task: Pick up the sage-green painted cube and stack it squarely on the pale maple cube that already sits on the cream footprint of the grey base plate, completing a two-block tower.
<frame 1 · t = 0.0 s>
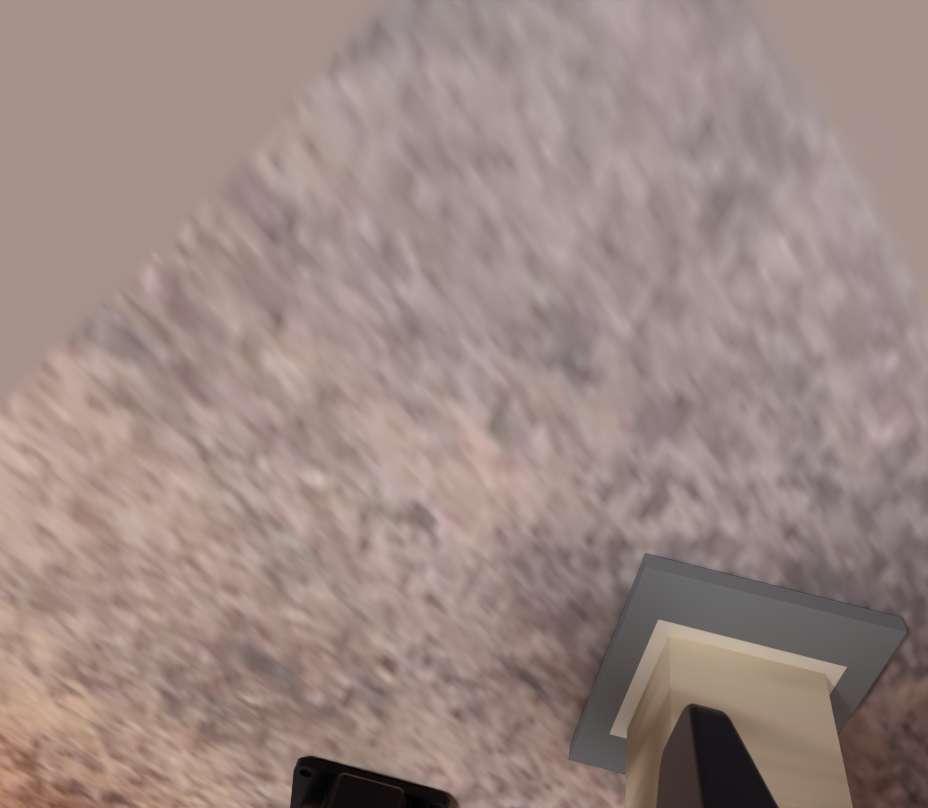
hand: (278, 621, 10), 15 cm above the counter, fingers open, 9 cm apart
grey base plate: (719, 688, 30), on the counter
maple block: (720, 702, 29), point 1 cm above the counter, touching grey base plate
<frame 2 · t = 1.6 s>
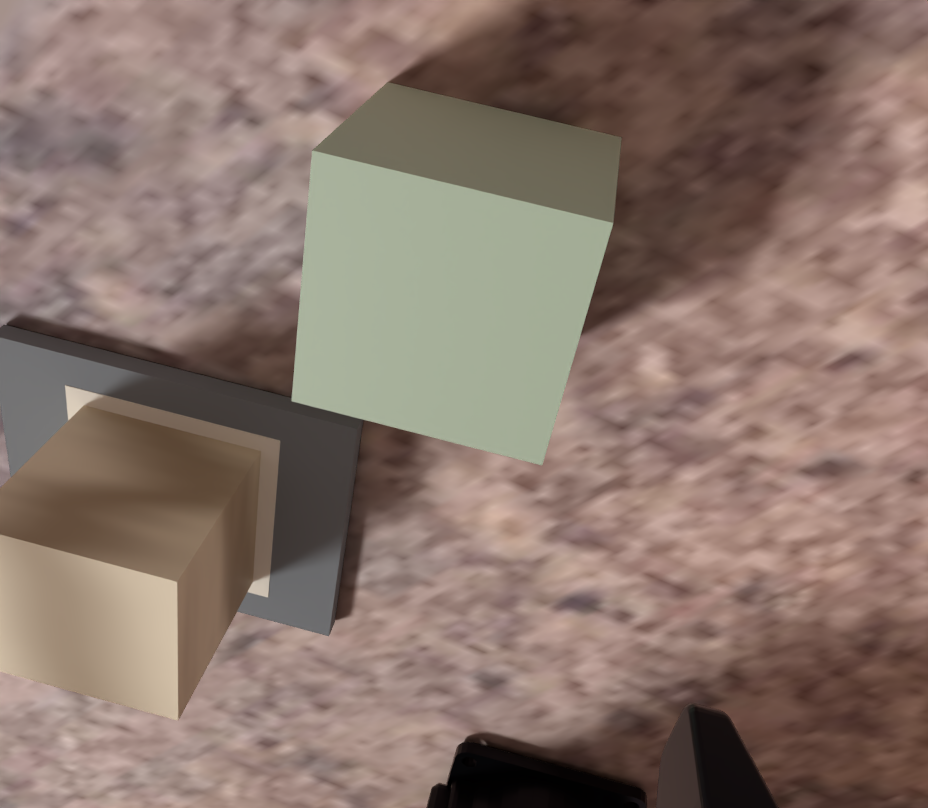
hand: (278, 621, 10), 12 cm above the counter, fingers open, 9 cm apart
green block: (481, 220, 20), on the counter
grey base plate: (182, 484, 25), on the counter
maple block: (172, 498, 25), point 1 cm above the counter, touching grey base plate
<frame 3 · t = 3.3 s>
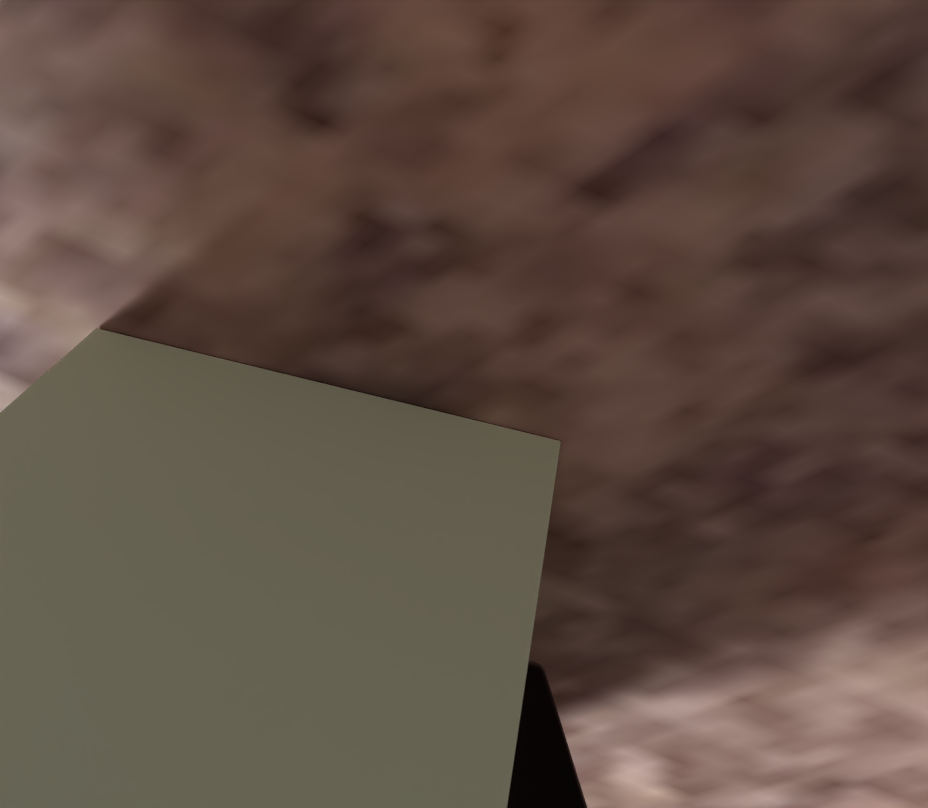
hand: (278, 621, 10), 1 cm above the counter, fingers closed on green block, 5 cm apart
green block: (309, 556, 10), on the counter, touching gripper
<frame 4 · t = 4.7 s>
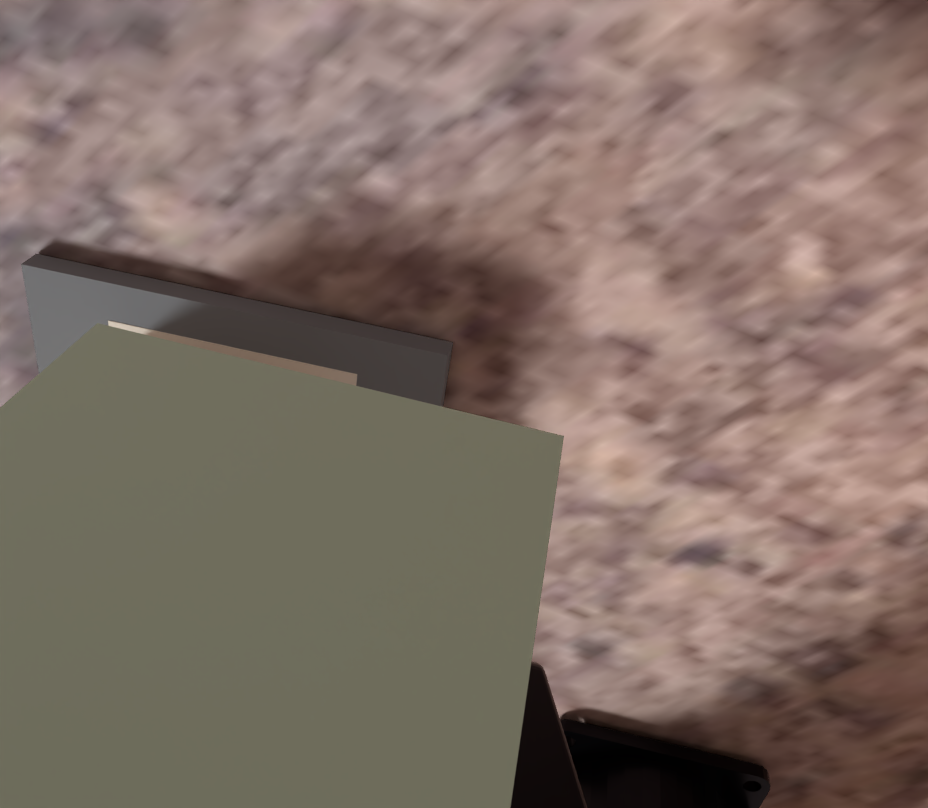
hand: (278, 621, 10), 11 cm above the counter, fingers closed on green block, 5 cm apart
green block: (310, 552, 10), point 10 cm above the counter, touching gripper
grey base plate: (242, 435, 22), on the counter
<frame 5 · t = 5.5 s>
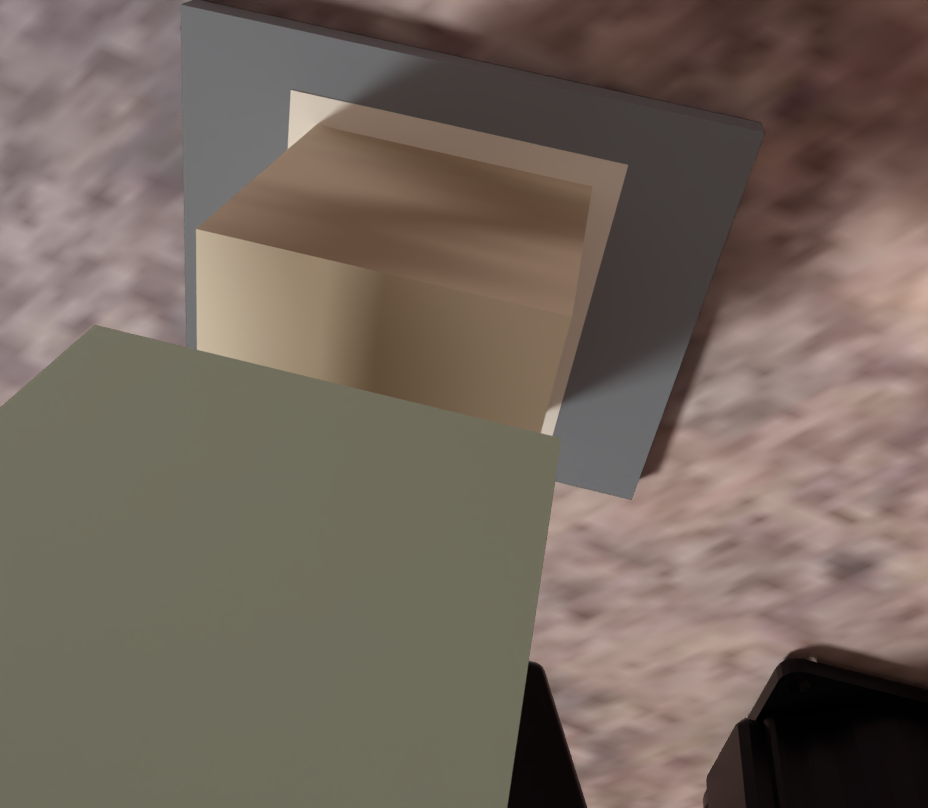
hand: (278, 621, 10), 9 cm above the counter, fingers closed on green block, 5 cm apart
green block: (308, 554, 10), point 8 cm above the counter, touching gripper
grey base plate: (438, 268, 17), on the counter
maple block: (432, 281, 17), point 1 cm above the counter, touching grey base plate
when the fingers open (8 cm above the counter, at t = 6.1 s): green block drops 1 cm, resting on maple block.
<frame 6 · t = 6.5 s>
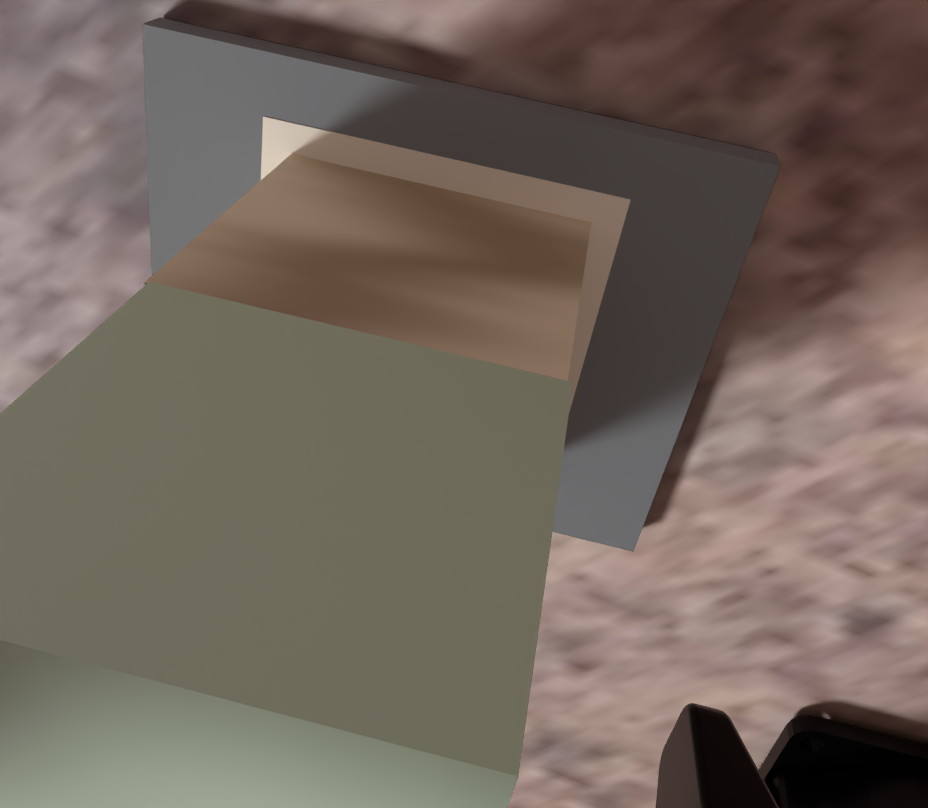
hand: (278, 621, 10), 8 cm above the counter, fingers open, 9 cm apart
green block: (340, 496, 11), point 6 cm above the counter, touching maple block
grey base plate: (426, 306, 16), on the counter
maple block: (418, 321, 16), point 1 cm above the counter, touching grey base plate, green block
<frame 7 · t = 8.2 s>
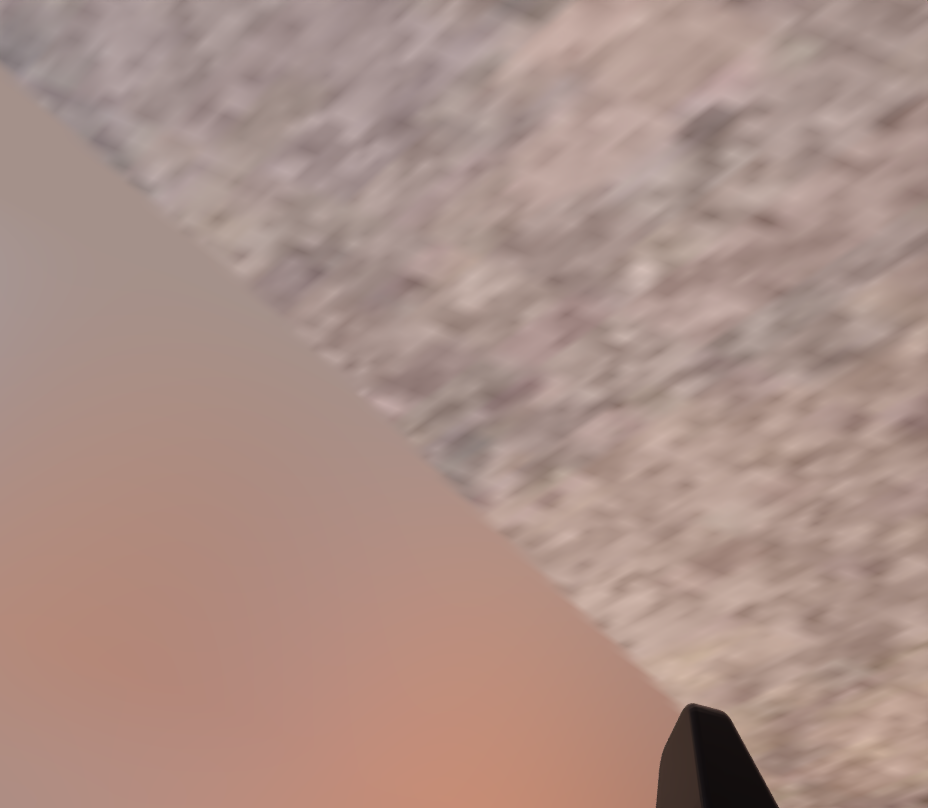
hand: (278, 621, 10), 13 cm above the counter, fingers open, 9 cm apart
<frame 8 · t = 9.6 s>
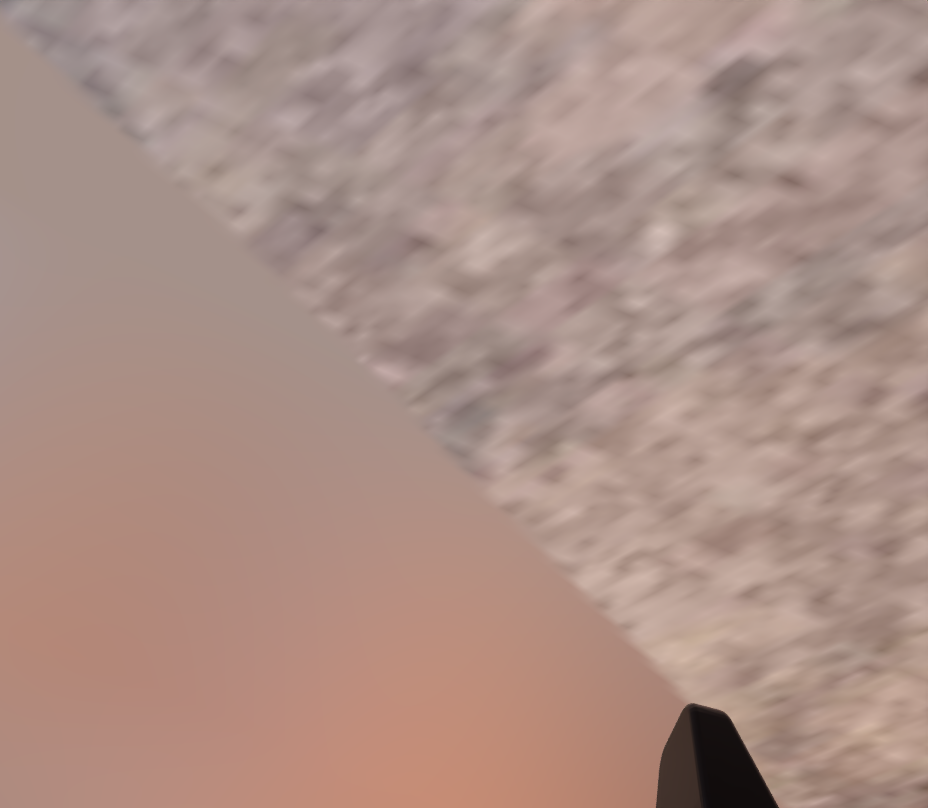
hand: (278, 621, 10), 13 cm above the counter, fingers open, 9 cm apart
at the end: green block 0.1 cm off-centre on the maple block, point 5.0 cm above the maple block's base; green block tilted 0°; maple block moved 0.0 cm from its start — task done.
